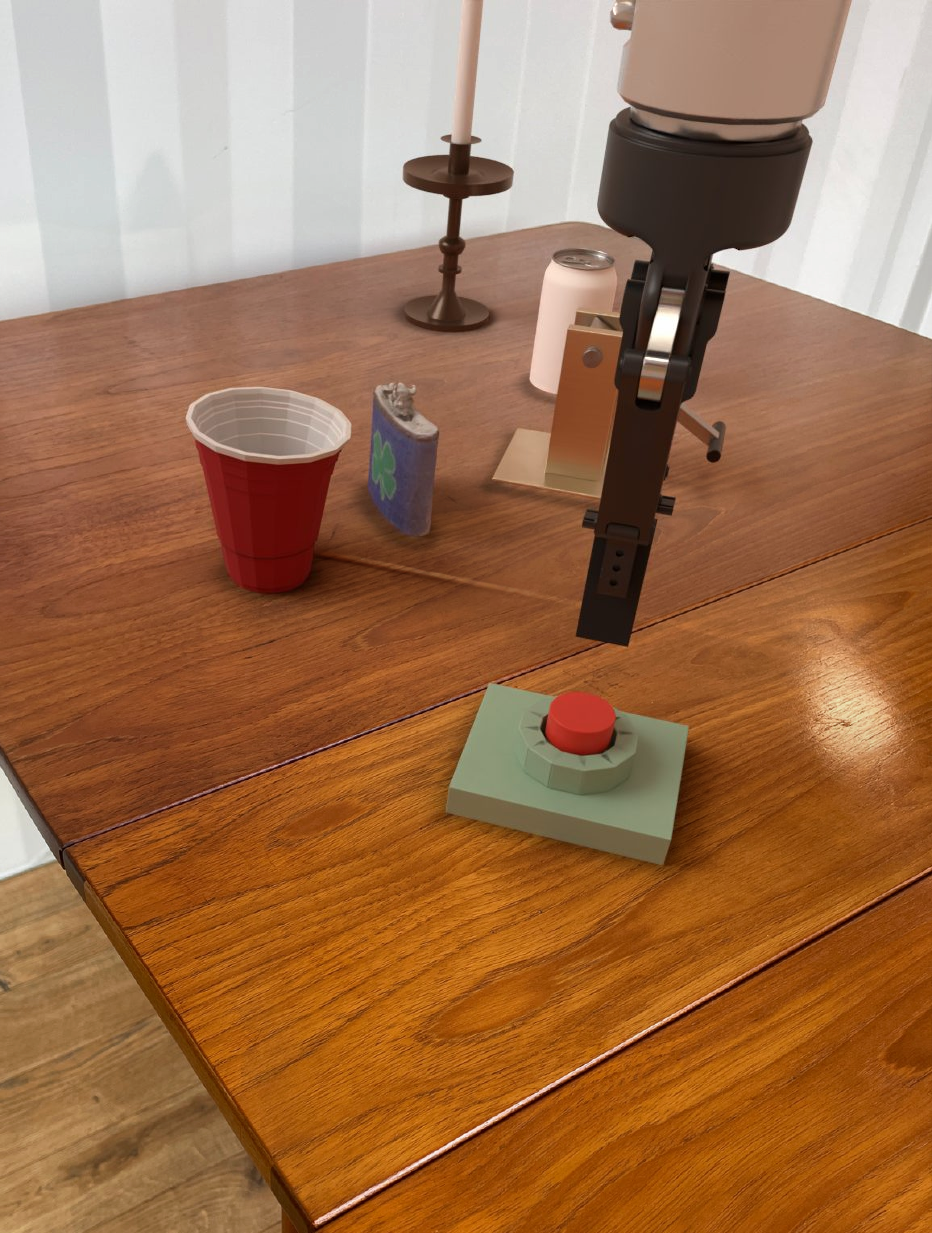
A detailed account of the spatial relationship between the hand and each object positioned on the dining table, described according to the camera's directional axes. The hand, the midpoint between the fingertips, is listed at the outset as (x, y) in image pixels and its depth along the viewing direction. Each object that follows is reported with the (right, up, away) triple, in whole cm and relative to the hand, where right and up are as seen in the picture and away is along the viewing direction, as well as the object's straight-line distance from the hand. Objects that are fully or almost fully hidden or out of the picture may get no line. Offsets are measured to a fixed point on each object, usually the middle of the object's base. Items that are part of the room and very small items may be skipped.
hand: (603, 633), depth 58 cm
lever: (+10, +22, +30) cm, 38 cm away
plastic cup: (-19, +7, +23) cm, 30 cm away
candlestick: (-3, +41, +61) cm, 74 cm away
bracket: (+6, +18, +35) cm, 40 cm away
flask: (-10, +13, +29) cm, 33 cm away
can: (+7, +29, +48) cm, 57 cm away
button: (0, -5, +4) cm, 7 cm away
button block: (-1, -8, +7) cm, 10 cm away
